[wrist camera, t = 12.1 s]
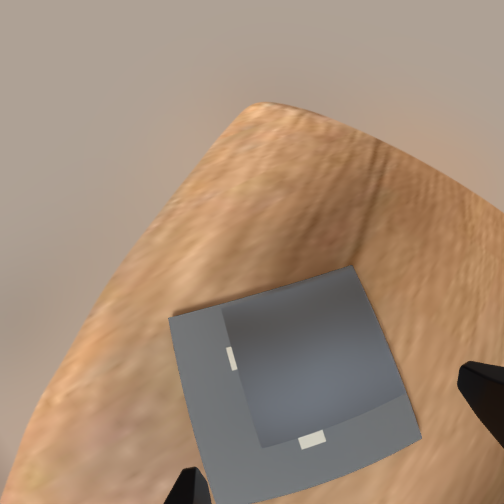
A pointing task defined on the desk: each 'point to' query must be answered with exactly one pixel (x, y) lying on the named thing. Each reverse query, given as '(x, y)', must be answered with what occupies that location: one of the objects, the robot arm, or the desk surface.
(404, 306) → the desk surface
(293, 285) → the board
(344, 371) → the grey rectangular block
